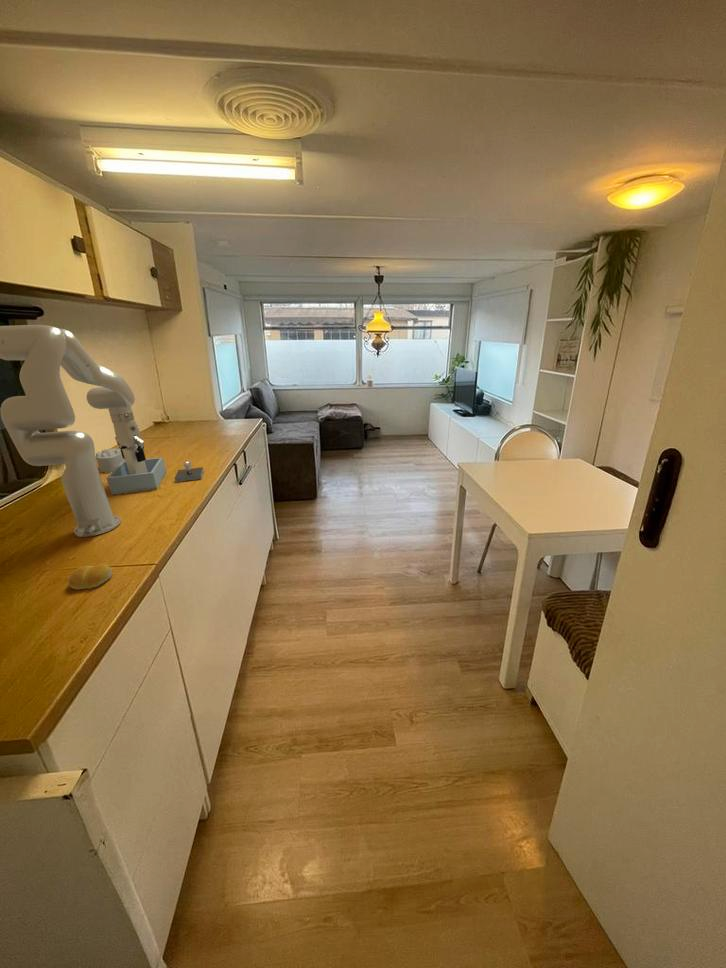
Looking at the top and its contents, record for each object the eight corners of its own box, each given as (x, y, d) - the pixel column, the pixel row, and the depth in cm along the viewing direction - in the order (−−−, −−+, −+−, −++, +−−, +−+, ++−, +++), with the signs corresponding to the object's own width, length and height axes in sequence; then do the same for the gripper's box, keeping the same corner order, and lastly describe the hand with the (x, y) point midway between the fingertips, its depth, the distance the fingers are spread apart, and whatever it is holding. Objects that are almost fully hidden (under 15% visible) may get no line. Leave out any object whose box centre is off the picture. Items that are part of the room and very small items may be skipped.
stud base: (201, 479, 157) (198, 463, 154) (175, 482, 154) (171, 466, 151) (203, 471, 165) (200, 456, 163) (179, 474, 163) (175, 459, 160)
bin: (157, 489, 148) (152, 472, 145) (111, 495, 144) (106, 478, 141) (166, 472, 166) (162, 457, 163) (126, 477, 162) (121, 461, 159)
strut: (149, 479, 156) (141, 447, 150) (139, 483, 152) (129, 450, 146) (142, 477, 158) (133, 445, 152) (131, 481, 154) (122, 449, 148)
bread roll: (105, 588, 92) (100, 574, 90) (64, 593, 90) (59, 579, 89) (118, 568, 99) (114, 555, 98) (81, 573, 98) (76, 560, 96)
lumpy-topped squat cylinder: (127, 462, 180) (122, 445, 177) (125, 470, 170) (120, 452, 166) (102, 466, 176) (96, 449, 173) (98, 475, 165) (92, 456, 162)
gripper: (145, 417, 144) (156, 459, 150) (119, 413, 151) (130, 454, 158) (126, 421, 137) (138, 465, 144) (99, 417, 145) (112, 459, 152)
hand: (134, 459), depth 151 cm, fingers open, 9 cm apart
